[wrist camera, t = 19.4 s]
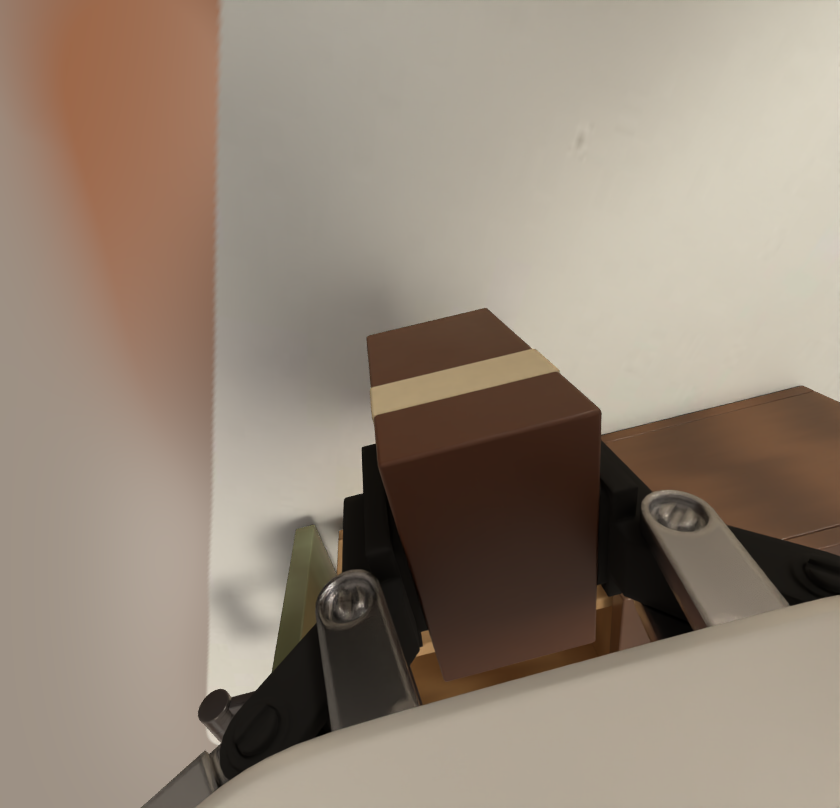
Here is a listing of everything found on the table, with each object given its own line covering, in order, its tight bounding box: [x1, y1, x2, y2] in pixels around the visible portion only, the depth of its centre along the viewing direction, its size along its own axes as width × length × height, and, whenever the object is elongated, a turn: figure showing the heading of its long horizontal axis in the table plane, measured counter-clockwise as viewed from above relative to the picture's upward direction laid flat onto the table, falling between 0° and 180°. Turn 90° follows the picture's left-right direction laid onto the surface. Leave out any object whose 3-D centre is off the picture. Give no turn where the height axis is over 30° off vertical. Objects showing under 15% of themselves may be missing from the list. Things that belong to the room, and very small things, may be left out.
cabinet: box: [601, 386, 840, 654], centre depth 25 cm, size 19×15×11 cm
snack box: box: [366, 308, 602, 682], centre depth 12 cm, size 4×7×7 cm, turn 12°
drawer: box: [198, 525, 613, 743], centre depth 25 cm, size 23×13×9 cm, turn 102°
